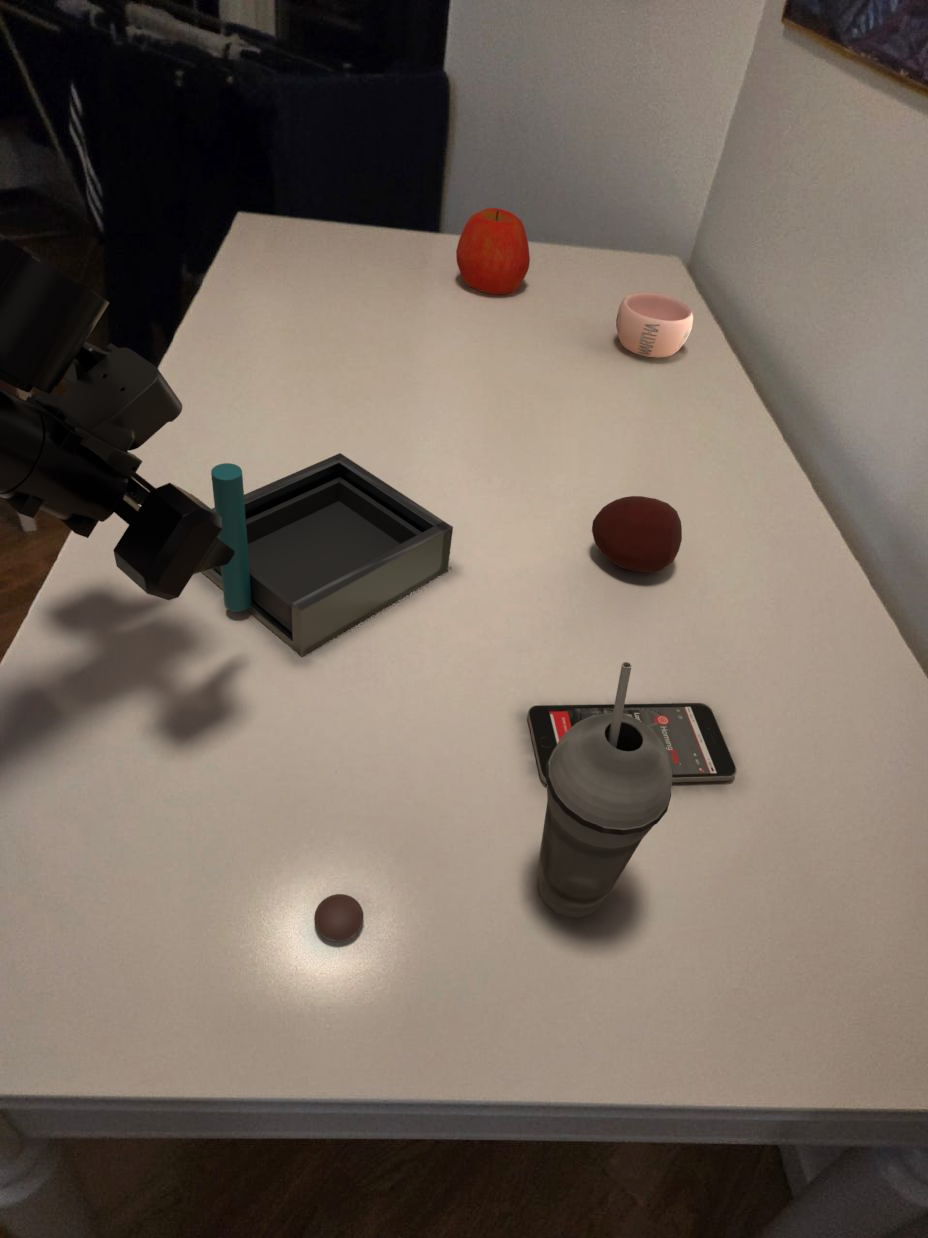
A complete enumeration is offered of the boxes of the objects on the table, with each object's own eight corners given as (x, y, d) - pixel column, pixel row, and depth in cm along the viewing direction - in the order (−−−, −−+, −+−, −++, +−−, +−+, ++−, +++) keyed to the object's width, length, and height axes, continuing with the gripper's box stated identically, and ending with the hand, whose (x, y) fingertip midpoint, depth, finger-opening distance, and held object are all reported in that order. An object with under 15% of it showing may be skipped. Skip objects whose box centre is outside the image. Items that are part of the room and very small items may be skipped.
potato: (589, 530, 88) (604, 470, 83) (673, 548, 87) (693, 489, 83) (580, 574, 83) (596, 514, 78) (670, 594, 82) (691, 534, 77)
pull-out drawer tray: (302, 657, 71) (301, 611, 68) (192, 565, 78) (186, 519, 74) (447, 570, 81) (453, 526, 78) (339, 495, 88) (340, 452, 84)
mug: (682, 371, 116) (695, 328, 112) (608, 357, 117) (618, 314, 113) (683, 334, 125) (695, 293, 121) (614, 321, 126) (624, 280, 122)
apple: (449, 267, 134) (456, 193, 127) (519, 272, 136) (530, 199, 128) (456, 297, 126) (464, 220, 119) (530, 301, 128) (543, 225, 121)
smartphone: (526, 705, 69) (709, 702, 71) (525, 711, 69) (706, 708, 71) (543, 782, 63) (740, 776, 66) (542, 788, 64) (736, 782, 66)
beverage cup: (572, 960, 55) (653, 758, 41) (493, 877, 58) (544, 665, 45) (647, 895, 58) (744, 690, 45) (568, 820, 62) (636, 611, 49)
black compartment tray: (271, 646, 70) (263, 513, 61) (185, 573, 75) (167, 441, 67) (424, 559, 80) (436, 434, 71) (339, 500, 85) (341, 377, 77)
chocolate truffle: (365, 903, 56) (366, 890, 55) (360, 948, 54) (361, 935, 53) (317, 900, 56) (317, 886, 55) (311, 945, 53) (310, 932, 52)
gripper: (176, 394, 46) (335, 492, 60) (2, 272, 55) (177, 383, 69) (65, 571, 47) (248, 627, 61) (-90, 424, 55) (101, 503, 69)
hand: (192, 526), depth 65 cm, fingers open, 9 cm apart
